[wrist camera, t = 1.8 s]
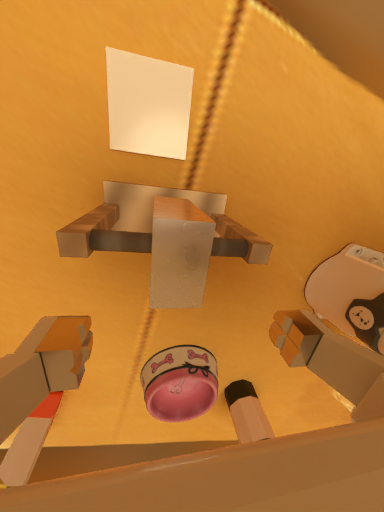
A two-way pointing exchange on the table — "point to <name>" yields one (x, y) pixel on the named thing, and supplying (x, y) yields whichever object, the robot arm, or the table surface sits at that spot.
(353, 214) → the table surface
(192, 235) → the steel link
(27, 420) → the french fries container
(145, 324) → the table surface
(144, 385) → the dog bowl
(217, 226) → the rail stand
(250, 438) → the wine bottle
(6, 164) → the table surface
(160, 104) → the ceramic tile
